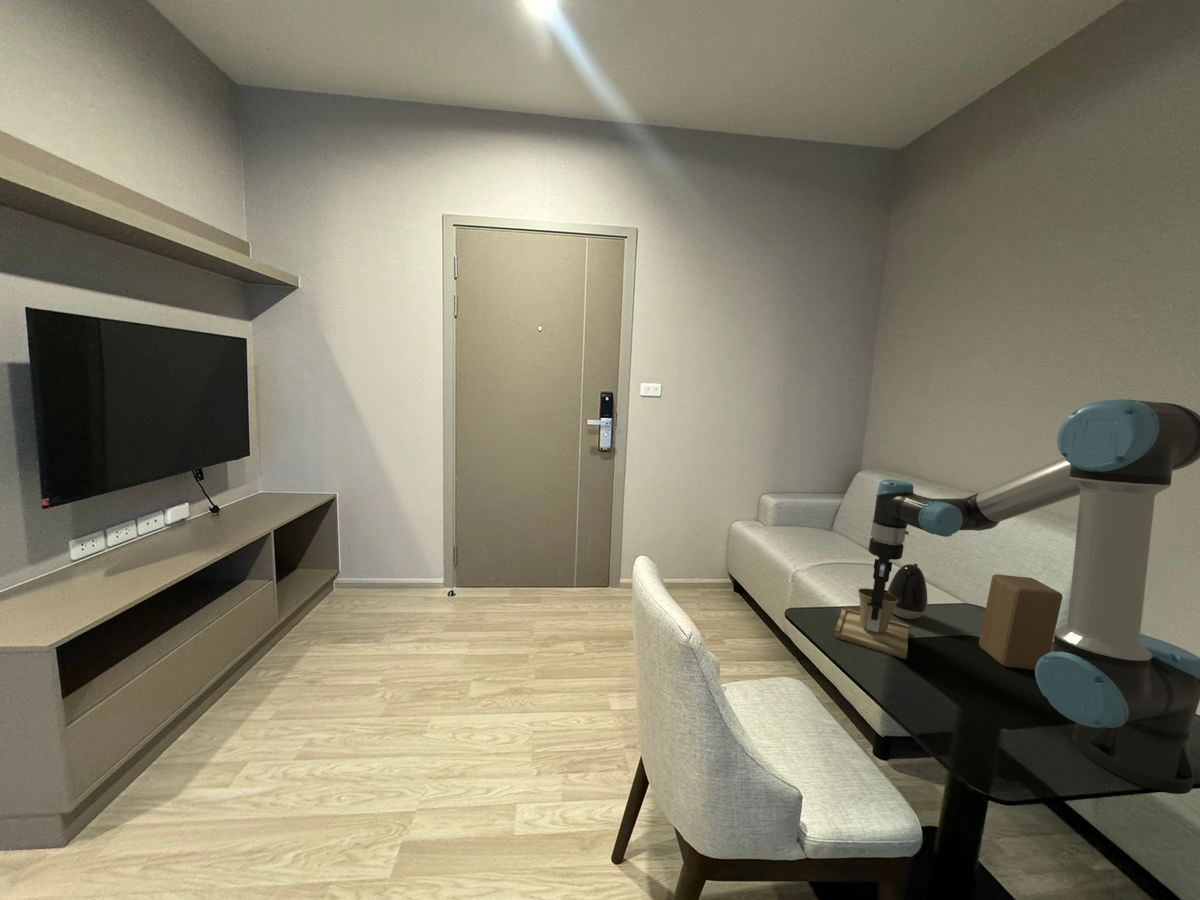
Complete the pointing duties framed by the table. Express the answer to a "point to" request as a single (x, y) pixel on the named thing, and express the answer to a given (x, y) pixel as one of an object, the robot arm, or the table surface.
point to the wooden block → (1019, 620)
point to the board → (873, 634)
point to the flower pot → (887, 608)
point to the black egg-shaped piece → (909, 592)
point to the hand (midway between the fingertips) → (873, 623)
